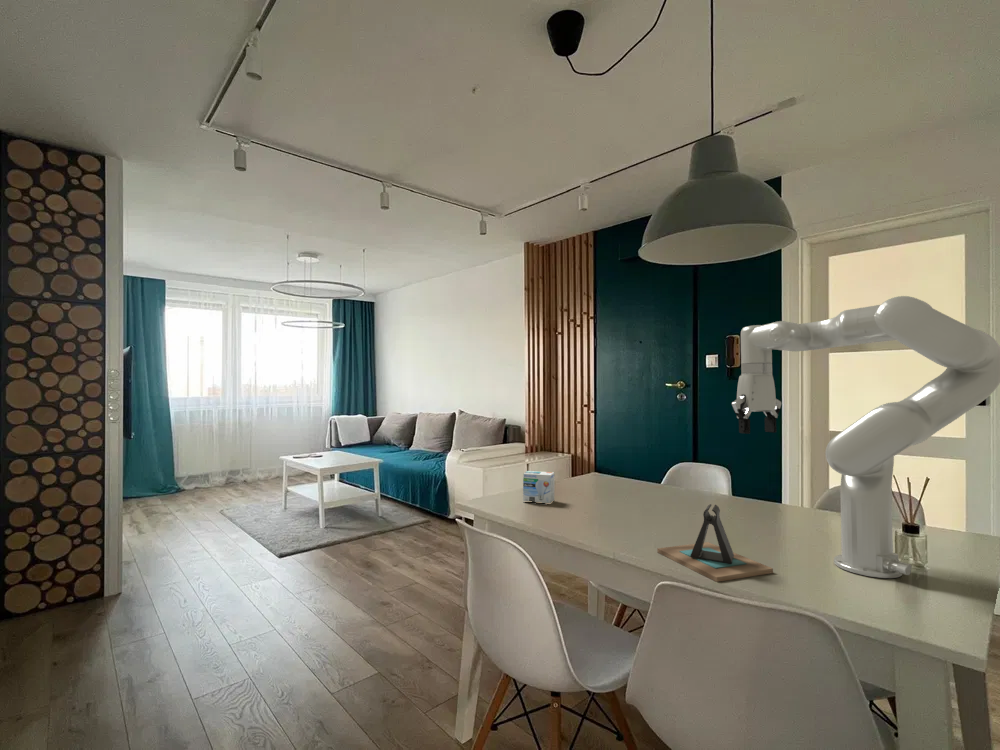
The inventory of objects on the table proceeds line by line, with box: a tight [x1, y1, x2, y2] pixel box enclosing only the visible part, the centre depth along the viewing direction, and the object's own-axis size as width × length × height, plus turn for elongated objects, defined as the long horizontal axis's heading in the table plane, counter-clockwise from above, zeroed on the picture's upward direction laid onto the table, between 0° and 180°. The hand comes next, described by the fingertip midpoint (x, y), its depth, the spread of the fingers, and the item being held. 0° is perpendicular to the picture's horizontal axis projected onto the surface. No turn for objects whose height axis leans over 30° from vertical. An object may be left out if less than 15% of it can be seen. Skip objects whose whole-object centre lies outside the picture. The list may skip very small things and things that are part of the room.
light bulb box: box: [522, 470, 555, 503], centre depth 178 cm, size 11×7×11 cm, turn 72°
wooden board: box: [657, 541, 774, 583], centre depth 115 cm, size 20×16×1 cm
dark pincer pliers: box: [691, 503, 734, 564], centre depth 115 cm, size 9×6×12 cm, turn 59°
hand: (757, 432), depth 132 cm, fingers open, 9 cm apart
